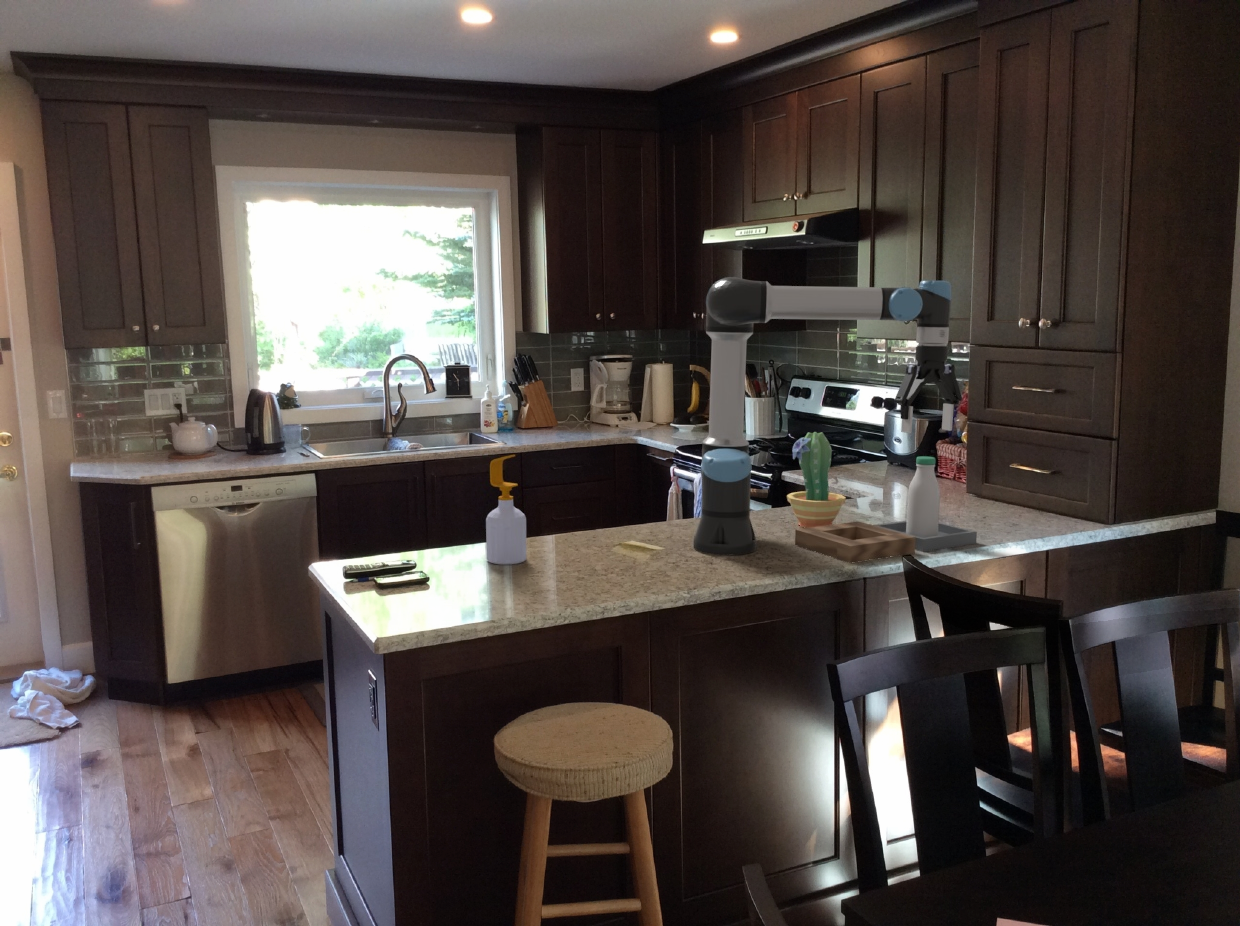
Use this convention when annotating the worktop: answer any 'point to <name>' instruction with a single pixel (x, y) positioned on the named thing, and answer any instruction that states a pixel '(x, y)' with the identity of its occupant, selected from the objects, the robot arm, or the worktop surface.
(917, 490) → the milk bottle
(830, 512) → the potted cactus
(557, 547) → the worktop surface
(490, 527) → the soap bottle
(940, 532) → the tray
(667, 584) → the worktop surface
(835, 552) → the block
